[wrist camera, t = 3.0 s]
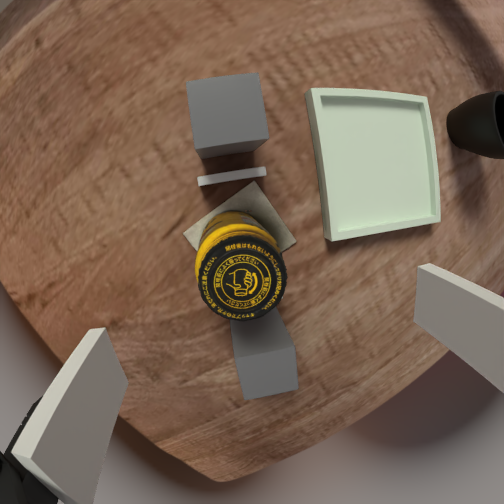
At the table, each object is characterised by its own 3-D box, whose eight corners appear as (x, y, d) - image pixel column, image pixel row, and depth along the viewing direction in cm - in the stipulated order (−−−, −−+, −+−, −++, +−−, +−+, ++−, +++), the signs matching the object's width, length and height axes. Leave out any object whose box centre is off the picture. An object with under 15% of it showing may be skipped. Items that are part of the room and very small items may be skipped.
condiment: (182, 233, 27) (159, 271, 15) (254, 180, 26) (283, 179, 15) (227, 289, 29) (236, 357, 17) (295, 240, 28) (347, 280, 17)
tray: (304, 93, 25) (310, 87, 23) (416, 100, 26) (426, 97, 24) (324, 237, 29) (331, 241, 27) (430, 219, 30) (440, 221, 28)
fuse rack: (186, 95, 23) (176, 64, 16) (248, 87, 24) (261, 53, 16) (235, 364, 31) (242, 412, 23) (285, 354, 31) (304, 399, 24)
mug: (490, 138, 28) (535, 138, 19) (454, 167, 29) (508, 170, 20) (471, 89, 26) (516, 80, 17) (431, 109, 26) (485, 98, 17)
